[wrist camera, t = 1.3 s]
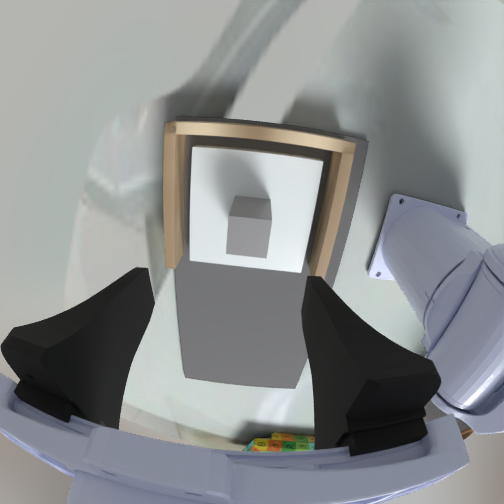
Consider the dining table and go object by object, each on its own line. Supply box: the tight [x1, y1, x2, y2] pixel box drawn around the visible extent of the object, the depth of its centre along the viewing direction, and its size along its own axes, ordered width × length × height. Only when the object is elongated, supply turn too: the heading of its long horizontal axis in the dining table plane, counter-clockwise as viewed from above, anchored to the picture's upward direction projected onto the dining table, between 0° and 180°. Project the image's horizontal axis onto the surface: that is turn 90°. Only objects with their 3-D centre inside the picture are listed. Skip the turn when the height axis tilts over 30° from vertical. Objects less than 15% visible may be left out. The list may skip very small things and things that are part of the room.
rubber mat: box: [175, 117, 369, 389], centre depth 25 cm, size 14×30×1 cm, turn 174°
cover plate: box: [190, 145, 323, 273], centre depth 18 cm, size 9×9×5 cm
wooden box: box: [163, 121, 356, 279], centre depth 19 cm, size 12×11×3 cm
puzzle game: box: [242, 433, 315, 452], centre depth 41 cm, size 12×5×20 cm
